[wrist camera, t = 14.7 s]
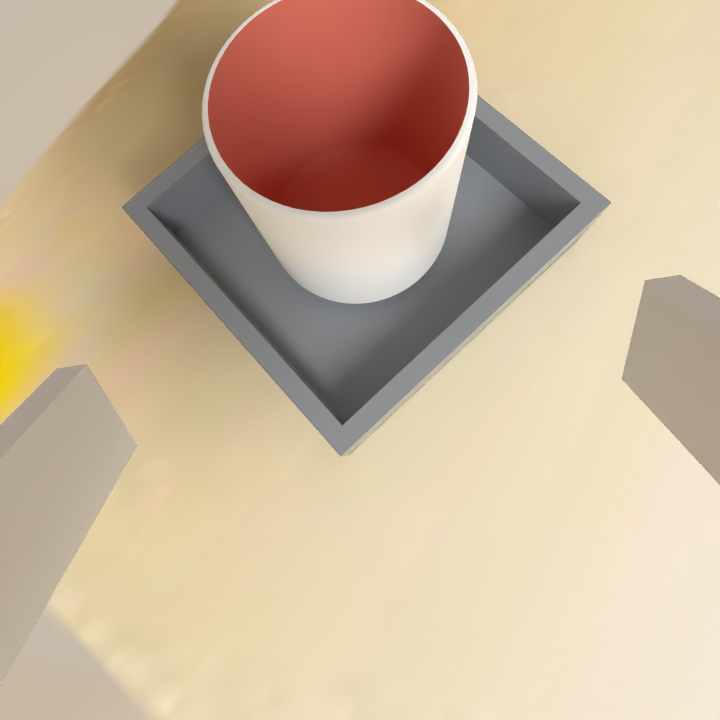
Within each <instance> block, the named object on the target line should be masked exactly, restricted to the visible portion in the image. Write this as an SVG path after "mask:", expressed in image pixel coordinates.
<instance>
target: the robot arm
mask: <svg viewBox="0 0 720 720" xmlns="http://www.w3.org/2000/svg"><path fill="white" fill-rule="evenodd" d="M622 380H623V381H624V382H625V383H626V384H627V385H628V386H629V387H630V388H631V389H632V391H633V392H634V393H635V394H636V395H637V396H638V397H639V398H640V399H641V400H642V401H643V402H644V403H645V405H646V406H647V407H648V408H649V409H650V410H651V411H652V412H653V413H654V414H655V415H656V416H657V418H658V419H659V420H660V421H661V422H662V423H663V424H664V425H665V426H666V427H667V428H668V429H669V430H670V432H671V433H672V434H673V435H674V436H675V437H676V438H677V439H678V440H679V441H680V442H681V443H682V445H683V446H684V447H685V448H686V449H687V450H688V451H689V452H690V453H691V454H692V455H693V456H694V457H695V459H696V460H697V461H698V462H699V463H700V464H701V465H702V466H703V467H704V468H705V469H706V470H707V472H708V473H709V474H710V475H711V476H712V477H713V478H714V479H715V480H716V481H717V482H718V483H719V484H720V298H719V297H717V296H716V295H714V294H712V293H710V292H709V291H707V290H705V289H704V288H702V287H700V286H698V285H697V284H695V283H693V282H691V281H690V280H688V279H686V278H685V277H683V276H681V275H678V276H672V277H665V278H658V279H652V280H645V283H644V287H643V291H642V296H641V300H640V304H639V308H638V312H637V317H636V321H635V325H634V329H633V334H632V338H631V342H630V346H629V350H628V355H627V359H626V363H625V367H624V372H623V376H622ZM136 447H137V444H136V442H135V441H134V439H133V438H132V436H131V434H130V433H129V431H128V430H127V428H126V426H125V425H124V423H123V422H122V420H121V418H120V417H119V415H118V414H117V412H116V410H115V409H114V407H113V405H112V404H111V402H110V401H109V399H108V397H107V396H106V394H105V393H104V391H103V389H102V388H101V386H100V385H99V383H98V381H97V380H96V378H95V377H94V375H93V373H92V372H91V370H90V369H89V367H88V365H87V364H85V365H78V366H72V367H65V368H58V369H56V370H55V371H54V372H53V373H52V374H51V375H50V376H49V377H48V378H47V379H46V380H45V381H44V382H43V383H42V384H41V385H40V386H39V387H38V388H37V389H36V390H35V391H34V392H33V393H32V394H31V395H30V396H29V397H28V398H27V399H26V400H25V401H24V402H23V403H22V404H21V405H20V406H19V407H18V408H17V409H16V410H15V411H14V412H13V413H12V414H11V415H10V416H9V417H8V418H7V419H6V420H5V421H4V422H3V423H2V424H1V425H0V685H1V683H2V682H3V680H4V678H5V676H6V675H7V673H8V671H9V669H10V668H11V666H12V664H13V662H14V661H15V659H16V657H17V655H18V654H19V652H20V650H21V648H22V646H23V645H24V643H25V641H26V640H27V638H28V636H29V634H30V633H31V631H32V629H33V627H34V626H35V624H36V622H37V620H38V619H39V617H40V615H41V613H42V612H43V610H44V608H45V606H46V605H47V603H48V601H49V599H50V597H51V596H52V594H53V592H54V590H55V589H56V587H57V585H58V583H59V582H60V580H61V578H62V576H63V575H64V573H65V571H66V569H67V568H68V566H69V564H70V562H71V561H72V559H73V557H74V555H75V554H76V552H77V550H78V548H79V547H80V545H81V543H82V541H83V540H84V538H85V536H86V534H87V533H88V531H89V529H90V527H91V526H92V524H93V522H94V520H95V519H96V517H97V515H98V513H99V511H100V510H101V508H102V506H103V504H104V503H105V501H106V499H107V497H108V496H109V494H110V492H111V490H112V489H113V487H114V485H115V483H116V482H117V480H118V478H119V476H120V475H121V473H122V471H123V469H124V468H125V466H126V464H127V462H128V461H129V459H130V457H131V455H132V454H133V452H134V450H135V448H136Z"/></svg>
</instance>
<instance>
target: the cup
mask: <svg viewBox="0 0 720 720" xmlns="http://www.w3.org/2000/svg"><path fill="white" fill-rule="evenodd" d="M476 104H477V79H476V72H475V67H474V63H473V60H472V57H471V54H470V52H469V50H468V47H467V45H466V43H465V41H464V40H463V38H462V36H461V35H460V33H459V32H458V30H457V29H456V27H455V26H454V25H453V24H452V23H451V22H450V20H449V19H448V18H447V17H446V16H445V15H444V14H443V13H442V12H440V11H439V10H438V9H437V8H435V7H434V6H433V5H431V4H430V3H428V2H426V1H425V0H274V1H272V2H270V3H268V4H267V5H265V6H264V7H262V8H261V9H259V10H258V11H257V12H255V13H254V14H252V15H251V16H250V17H249V18H248V19H247V20H245V21H244V22H243V23H242V24H241V25H240V26H239V27H238V28H237V29H236V30H235V31H234V32H233V34H232V35H231V36H230V37H229V38H228V40H227V41H226V42H225V44H224V45H223V47H222V48H221V50H220V51H219V53H218V55H217V57H216V58H215V60H214V62H213V65H212V67H211V69H210V71H209V74H208V77H207V80H206V84H205V88H204V93H203V99H202V124H203V131H204V136H205V140H206V143H207V146H208V149H209V152H210V154H211V156H212V158H213V160H214V162H215V164H216V166H217V167H218V169H219V170H220V172H221V173H222V175H223V176H224V178H225V180H226V181H227V183H228V184H229V186H230V187H231V189H232V190H233V192H234V193H235V195H236V196H237V198H238V199H239V201H240V203H241V204H242V206H243V207H244V209H245V210H246V212H247V213H248V215H249V216H250V218H251V219H252V221H253V222H254V224H255V225H256V227H257V229H258V230H259V232H260V233H261V235H262V236H263V238H264V239H265V241H266V242H267V244H268V245H269V247H270V248H271V250H272V251H273V253H274V254H275V256H276V257H277V259H278V260H279V262H280V263H281V265H282V266H283V268H284V269H285V271H286V272H287V273H288V274H289V275H290V276H291V278H293V279H294V280H295V281H296V282H297V283H298V284H300V285H301V286H302V287H303V288H305V289H306V290H308V291H309V292H311V293H313V294H315V295H317V296H319V297H322V298H325V299H327V300H331V301H335V302H340V303H347V304H362V303H371V302H376V301H380V300H383V299H386V298H389V297H392V296H394V295H396V294H398V293H400V292H402V291H404V290H405V289H407V288H409V287H410V286H411V285H413V284H414V283H415V282H417V281H418V280H419V279H420V278H421V277H422V276H423V275H424V274H425V273H426V272H427V271H428V270H429V268H430V267H431V266H432V264H433V263H434V261H435V260H436V258H437V257H438V255H439V253H440V251H441V249H442V246H443V244H444V241H445V238H446V235H447V230H448V226H449V222H450V218H451V213H452V209H453V205H454V201H455V196H456V192H457V188H458V184H459V180H460V175H461V171H462V167H463V163H464V158H465V154H466V150H467V146H468V142H469V137H470V133H471V129H472V125H473V120H474V116H475V111H476Z"/></svg>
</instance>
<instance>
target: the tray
mask: <svg viewBox="0 0 720 720" xmlns="http://www.w3.org/2000/svg"><path fill="white" fill-rule="evenodd" d="M610 203H611V202H610V201H609V200H608V199H606V198H605V197H604V196H603V195H601V194H600V193H599V192H598V191H596V190H595V189H594V188H593V187H591V186H590V185H589V184H588V183H586V182H585V181H584V180H583V179H581V178H580V177H579V176H578V175H576V174H575V173H574V172H573V171H571V170H570V169H569V168H568V167H567V166H565V165H564V164H563V163H562V162H560V161H559V160H558V159H557V158H555V157H554V156H553V155H552V154H550V153H549V152H548V151H547V150H545V149H544V148H543V147H542V146H540V145H539V144H538V143H537V142H535V141H534V140H533V139H532V138H531V137H529V136H528V135H527V134H526V133H524V132H523V131H522V130H521V129H519V128H518V127H517V126H516V125H514V124H513V123H512V122H511V121H509V120H508V119H507V118H506V117H504V116H503V115H502V114H501V113H499V112H498V111H497V110H496V109H494V108H493V107H492V106H491V105H490V104H488V103H487V102H486V101H485V100H483V99H482V98H481V97H480V96H478V95H477V104H476V111H475V116H474V120H473V125H472V129H471V133H470V137H469V142H468V146H467V150H466V154H465V158H464V163H463V167H462V171H461V175H460V180H459V184H458V188H457V192H456V196H455V201H454V205H453V209H452V213H451V218H450V222H449V226H448V230H447V235H446V238H445V241H444V244H443V246H442V249H441V251H440V253H439V255H438V257H437V258H436V260H435V261H434V263H433V264H432V266H431V267H430V268H429V270H428V271H427V272H426V273H425V274H424V275H423V276H422V277H421V278H420V279H419V280H418V281H417V282H415V283H414V284H413V285H411V286H410V287H409V288H407V289H405V290H404V291H402V292H400V293H398V294H396V295H394V296H392V297H389V298H386V299H383V300H380V301H376V302H371V303H362V304H347V303H340V302H335V301H331V300H327V299H325V298H322V297H319V296H317V295H315V294H313V293H311V292H309V291H308V290H306V289H305V288H303V287H302V286H301V285H300V284H298V283H297V282H296V281H295V280H294V279H293V278H291V276H290V275H289V274H288V273H287V272H286V271H285V269H284V268H283V266H282V265H281V263H280V262H279V260H278V259H277V257H276V256H275V254H274V253H273V251H272V250H271V248H270V247H269V245H268V244H267V242H266V241H265V239H264V238H263V236H262V235H261V233H260V232H259V230H258V229H257V227H256V225H255V224H254V222H253V221H252V219H251V218H250V216H249V215H248V213H247V212H246V210H245V209H244V207H243V206H242V204H241V203H240V201H239V199H238V198H237V196H236V195H235V193H234V192H233V190H232V189H231V187H230V186H229V184H228V183H227V181H226V180H225V178H224V176H223V175H222V173H221V172H220V170H219V169H218V167H217V166H216V164H215V162H214V160H213V158H212V156H211V154H210V152H209V149H208V146H207V143H206V140H205V137H204V138H203V139H202V140H200V141H199V142H198V143H197V144H196V145H195V146H193V147H192V148H191V149H190V150H189V151H187V152H186V153H185V154H184V155H183V156H182V157H180V158H179V159H178V160H177V161H176V162H174V163H173V164H172V165H171V166H170V167H168V168H167V169H166V170H165V171H164V172H163V173H161V174H160V175H159V176H158V177H157V178H155V179H154V180H153V181H152V182H151V183H150V184H148V185H147V186H146V187H145V188H144V189H142V190H141V191H140V192H139V193H138V194H137V195H135V196H134V197H133V198H132V199H131V200H129V201H128V202H127V203H126V204H125V205H124V206H122V208H123V209H124V210H125V211H126V213H127V214H128V215H129V216H130V217H131V218H132V219H133V221H134V222H135V223H136V224H137V225H138V226H139V227H140V229H141V230H142V231H143V232H144V233H145V234H146V235H147V237H148V238H149V239H150V240H151V241H152V242H153V243H154V244H155V246H156V247H157V248H158V249H159V250H160V251H161V252H162V254H163V255H164V256H165V257H166V258H167V259H168V260H169V262H170V263H171V264H172V265H173V266H174V267H175V268H176V270H177V271H178V272H179V273H180V274H181V275H182V276H183V278H184V279H185V280H186V281H187V282H188V283H189V284H190V285H191V287H192V288H193V289H194V290H195V291H196V292H197V293H198V295H199V296H200V297H201V298H202V299H203V300H204V301H205V303H206V304H207V305H208V306H209V307H210V308H211V309H212V311H213V312H214V313H215V314H216V315H217V316H218V317H219V318H220V320H221V321H222V322H223V323H224V324H225V325H226V326H227V328H228V329H229V330H230V331H231V332H232V333H233V334H234V336H235V337H236V338H237V339H238V340H239V341H240V342H241V344H242V345H243V346H244V347H245V348H246V349H247V350H248V352H249V353H250V354H251V355H252V356H253V357H254V358H255V359H256V361H257V362H258V363H259V364H260V365H261V366H262V367H263V369H264V370H265V371H266V372H267V373H268V374H269V375H270V377H271V378H272V379H273V380H274V381H275V382H276V383H277V385H278V386H279V387H280V388H281V389H282V390H283V391H284V393H285V394H286V395H287V396H288V397H289V398H290V399H291V400H292V402H293V403H294V404H295V405H296V406H297V407H298V408H299V410H300V411H301V412H302V413H303V414H304V415H305V416H306V418H307V419H308V420H309V421H310V422H311V423H312V424H313V426H314V427H315V428H316V429H317V430H318V431H319V432H320V433H321V435H322V436H323V437H324V438H325V439H326V440H327V441H328V443H329V444H330V445H331V446H332V447H333V448H334V449H335V451H336V452H337V453H338V454H339V455H340V456H345V455H349V454H351V453H352V452H353V451H354V450H355V449H356V448H357V447H358V446H359V445H360V444H361V443H363V442H364V441H365V440H366V439H367V438H368V437H369V436H370V435H371V434H372V433H373V432H374V431H375V430H376V429H377V428H378V427H380V426H381V425H382V424H383V423H384V422H385V421H386V420H387V419H388V418H389V417H390V416H391V415H392V414H393V413H394V412H396V411H397V410H398V409H399V408H400V407H401V406H402V405H403V404H404V403H405V402H406V401H407V400H408V399H409V398H410V397H411V396H413V395H414V394H415V393H416V392H417V391H418V390H419V389H420V388H421V387H422V386H423V385H424V384H425V383H426V382H427V381H428V380H430V379H431V378H432V377H433V376H434V375H435V374H436V373H437V372H438V371H439V370H440V369H441V368H442V367H443V366H444V365H446V364H447V363H448V362H449V361H450V360H451V359H452V358H453V357H454V356H455V355H456V354H457V353H458V352H459V351H460V350H461V349H463V348H464V347H465V346H466V345H467V344H468V343H469V342H470V341H471V340H472V339H473V338H474V337H475V336H476V335H477V334H478V333H480V332H481V331H482V330H483V329H484V328H485V327H486V326H487V325H488V324H489V323H490V322H491V321H492V320H493V319H494V318H496V317H497V316H498V315H499V314H500V313H501V312H502V311H503V310H504V309H505V308H506V307H507V306H508V305H509V304H510V303H511V302H513V301H514V300H515V299H516V298H517V297H518V296H519V295H520V294H521V293H522V292H523V291H524V290H525V289H526V288H527V287H528V286H530V285H531V284H532V283H533V282H534V281H535V280H536V279H537V278H538V277H539V276H540V275H541V274H542V273H543V272H544V271H546V270H547V269H548V268H549V267H550V266H551V265H552V264H553V263H554V262H555V261H556V260H557V259H558V258H559V257H560V256H561V255H563V254H564V253H565V252H566V251H567V250H568V249H569V248H570V247H571V246H572V245H573V244H574V243H575V242H576V241H577V240H578V239H579V238H580V237H581V236H582V235H583V234H584V233H585V231H586V230H587V229H588V228H589V227H590V226H591V225H592V224H593V222H594V221H595V220H596V219H597V218H598V217H599V216H600V215H601V214H602V212H603V211H604V210H605V209H606V208H607V207H608V206H609V205H610Z"/></svg>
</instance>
